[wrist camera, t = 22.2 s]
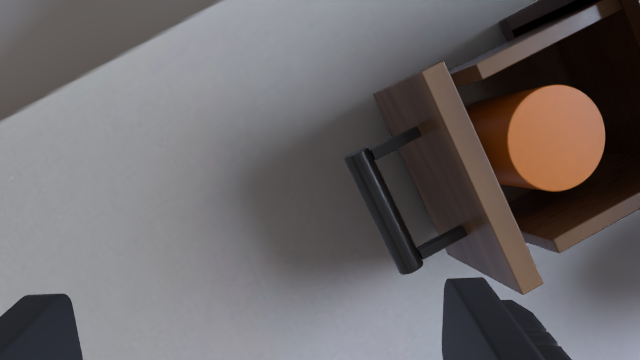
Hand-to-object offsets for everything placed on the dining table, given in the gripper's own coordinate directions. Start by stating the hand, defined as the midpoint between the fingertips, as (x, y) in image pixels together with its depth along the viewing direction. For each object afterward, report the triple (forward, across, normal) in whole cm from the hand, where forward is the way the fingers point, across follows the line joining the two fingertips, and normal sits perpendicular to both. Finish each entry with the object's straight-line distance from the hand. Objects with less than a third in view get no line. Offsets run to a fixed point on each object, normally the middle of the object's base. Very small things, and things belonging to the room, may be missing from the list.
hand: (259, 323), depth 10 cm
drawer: (+21, -11, +1) cm, 24 cm away
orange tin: (+20, -12, 0) cm, 24 cm away
